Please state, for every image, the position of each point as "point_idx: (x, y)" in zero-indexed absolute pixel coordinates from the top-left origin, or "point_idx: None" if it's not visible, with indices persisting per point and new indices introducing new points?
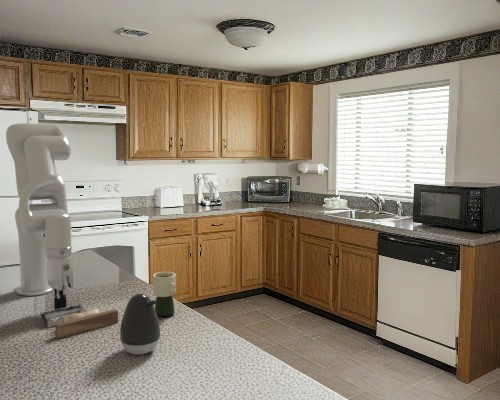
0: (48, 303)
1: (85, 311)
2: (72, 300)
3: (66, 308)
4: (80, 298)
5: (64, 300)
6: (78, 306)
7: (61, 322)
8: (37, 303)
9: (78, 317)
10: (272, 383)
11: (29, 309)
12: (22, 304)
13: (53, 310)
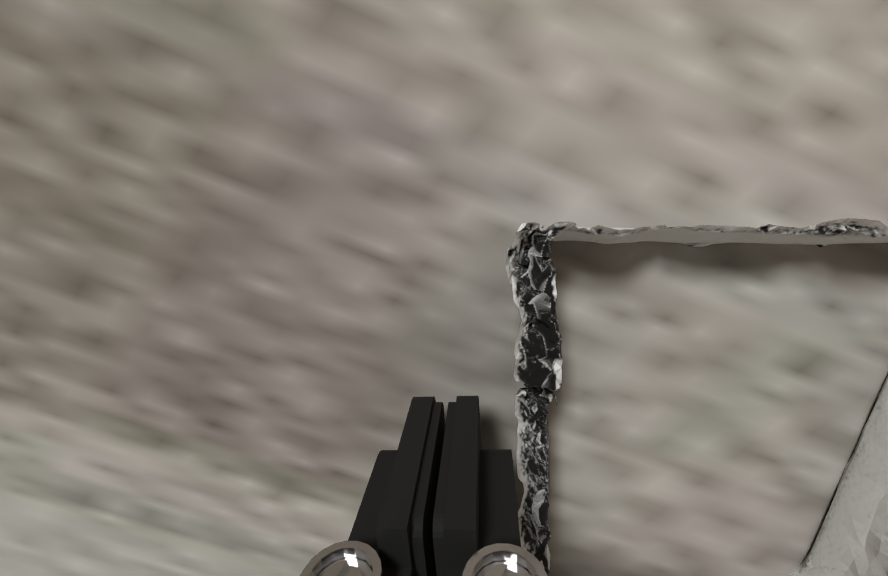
0: (76, 399)
1: (756, 232)
2: (62, 143)
3: (529, 419)
4: (8, 7)
5: (517, 524)
6: (548, 261)
7: (832, 556)
8: (36, 471)
9: None
10: None
11: (188, 569)
12: (21, 562)
13: None
